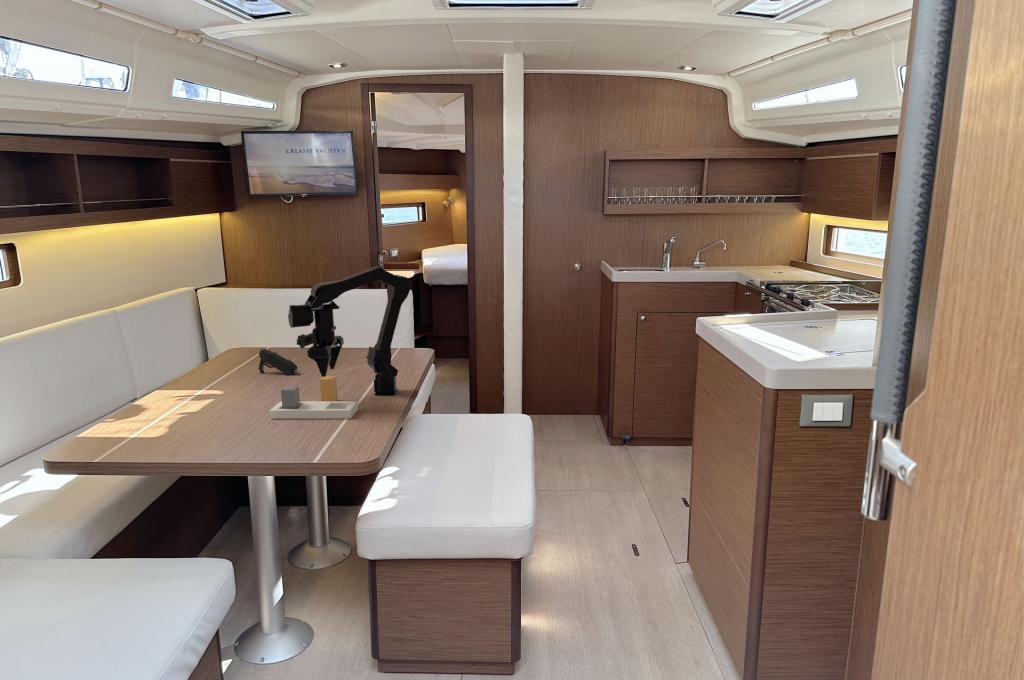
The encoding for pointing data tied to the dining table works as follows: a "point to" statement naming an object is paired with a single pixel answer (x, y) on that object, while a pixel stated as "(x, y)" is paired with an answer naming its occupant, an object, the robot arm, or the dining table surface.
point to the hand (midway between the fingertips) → (328, 372)
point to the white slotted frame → (316, 410)
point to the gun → (276, 362)
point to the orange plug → (328, 388)
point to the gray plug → (290, 397)
